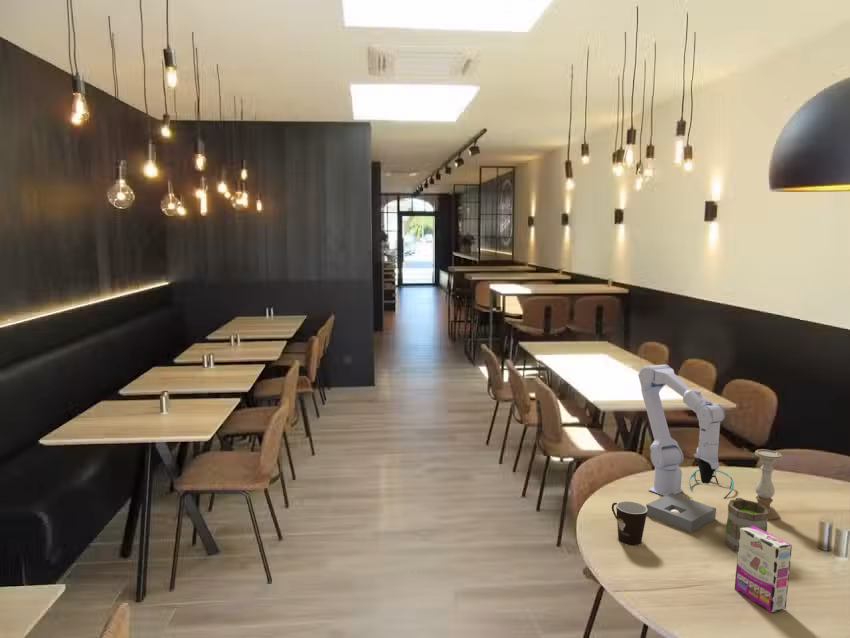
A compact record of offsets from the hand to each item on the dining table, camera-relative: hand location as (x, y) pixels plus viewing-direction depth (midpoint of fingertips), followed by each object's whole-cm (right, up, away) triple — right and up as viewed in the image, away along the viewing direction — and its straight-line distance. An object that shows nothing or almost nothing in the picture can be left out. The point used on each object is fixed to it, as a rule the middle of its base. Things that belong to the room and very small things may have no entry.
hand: (705, 482), depth 203 cm
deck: (-10, -10, -4) cm, 14 cm away
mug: (+2, -12, -20) cm, 24 cm away
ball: (-13, -8, -7) cm, 17 cm away
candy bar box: (-8, -16, -49) cm, 52 cm away
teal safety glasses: (+11, -8, +20) cm, 24 cm away
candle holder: (+18, -10, -1) cm, 21 cm away
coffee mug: (-31, -12, -18) cm, 37 cm away
